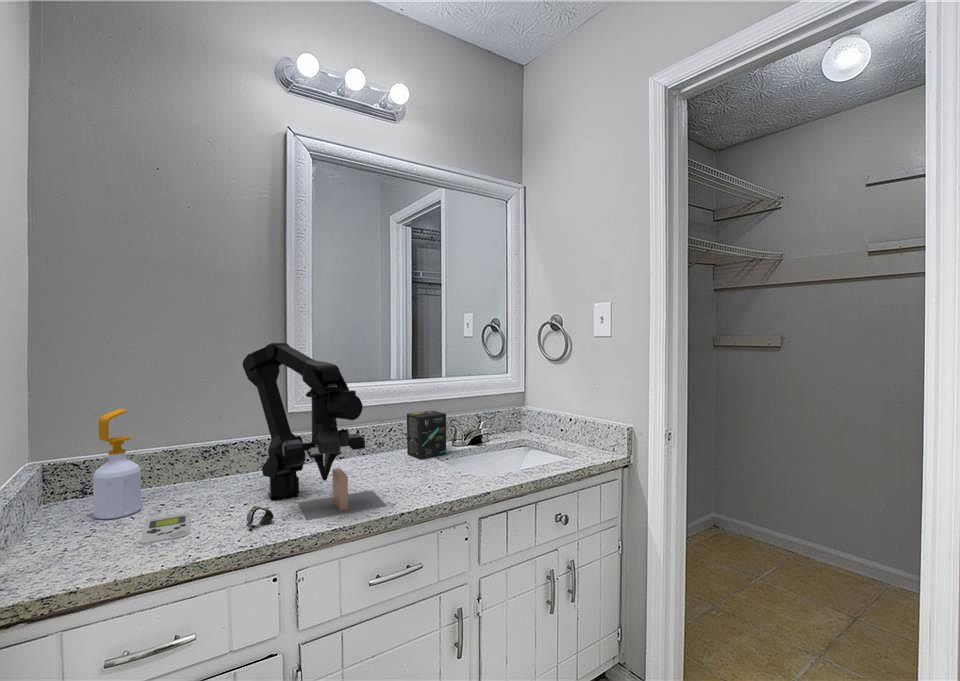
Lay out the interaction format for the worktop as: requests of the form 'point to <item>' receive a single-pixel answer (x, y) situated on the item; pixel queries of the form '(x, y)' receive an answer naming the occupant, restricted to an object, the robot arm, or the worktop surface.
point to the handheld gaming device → (165, 528)
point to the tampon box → (426, 434)
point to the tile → (340, 489)
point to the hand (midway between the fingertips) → (324, 480)
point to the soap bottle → (116, 477)
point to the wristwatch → (265, 519)
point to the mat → (329, 508)
